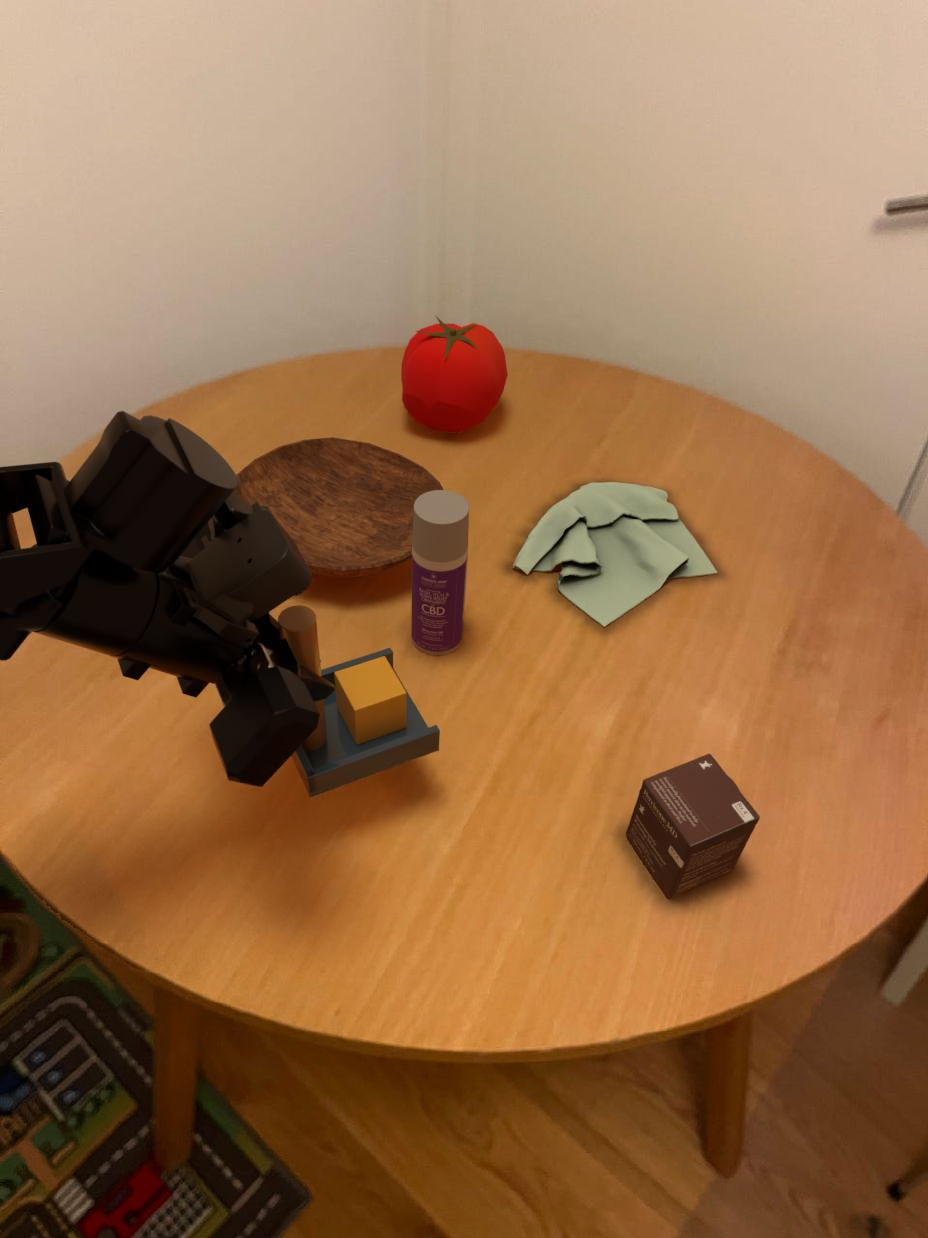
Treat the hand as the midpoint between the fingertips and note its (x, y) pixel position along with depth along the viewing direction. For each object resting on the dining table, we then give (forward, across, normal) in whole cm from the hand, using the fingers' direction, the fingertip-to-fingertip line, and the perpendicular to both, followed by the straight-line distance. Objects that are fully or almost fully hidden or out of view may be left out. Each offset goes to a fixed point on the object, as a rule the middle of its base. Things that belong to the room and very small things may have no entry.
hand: (323, 678), depth 63 cm
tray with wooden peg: (+6, 0, +3) cm, 7 cm away
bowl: (+17, +28, +1) cm, 33 cm away
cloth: (+34, +15, -16) cm, 40 cm away
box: (+24, -17, -6) cm, 30 cm away
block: (+7, 0, +2) cm, 7 cm away
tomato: (+31, +43, -14) cm, 55 cm away
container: (+19, +11, -1) cm, 22 cm away
